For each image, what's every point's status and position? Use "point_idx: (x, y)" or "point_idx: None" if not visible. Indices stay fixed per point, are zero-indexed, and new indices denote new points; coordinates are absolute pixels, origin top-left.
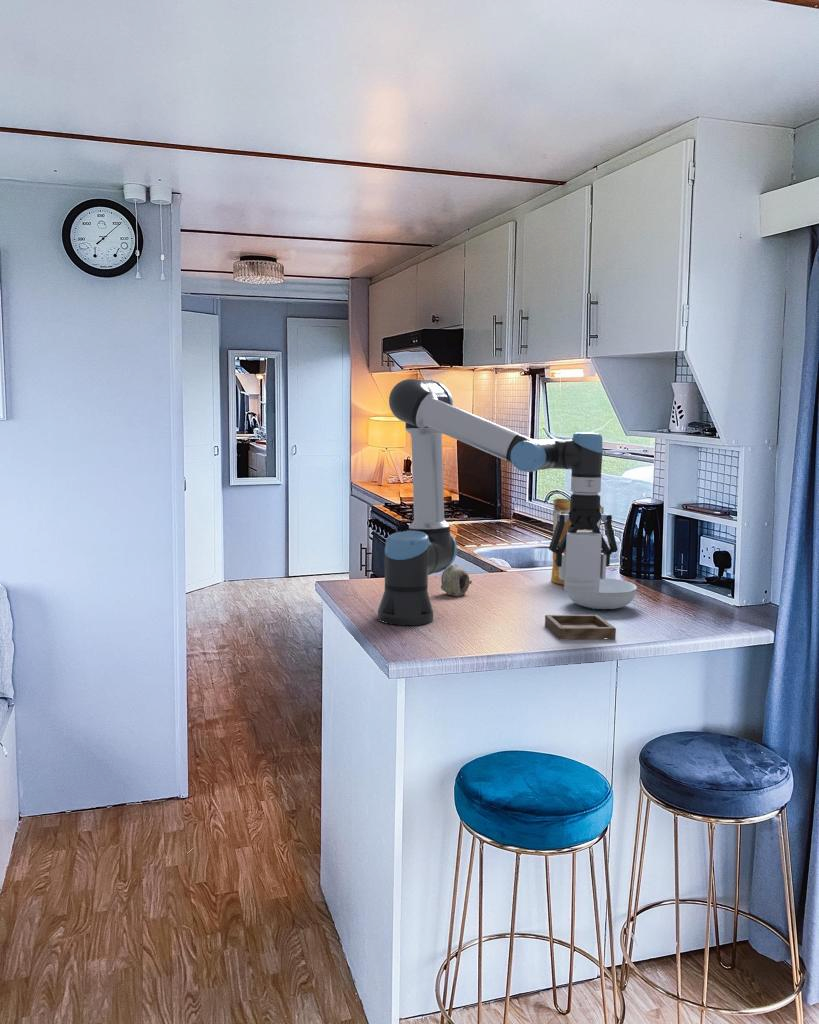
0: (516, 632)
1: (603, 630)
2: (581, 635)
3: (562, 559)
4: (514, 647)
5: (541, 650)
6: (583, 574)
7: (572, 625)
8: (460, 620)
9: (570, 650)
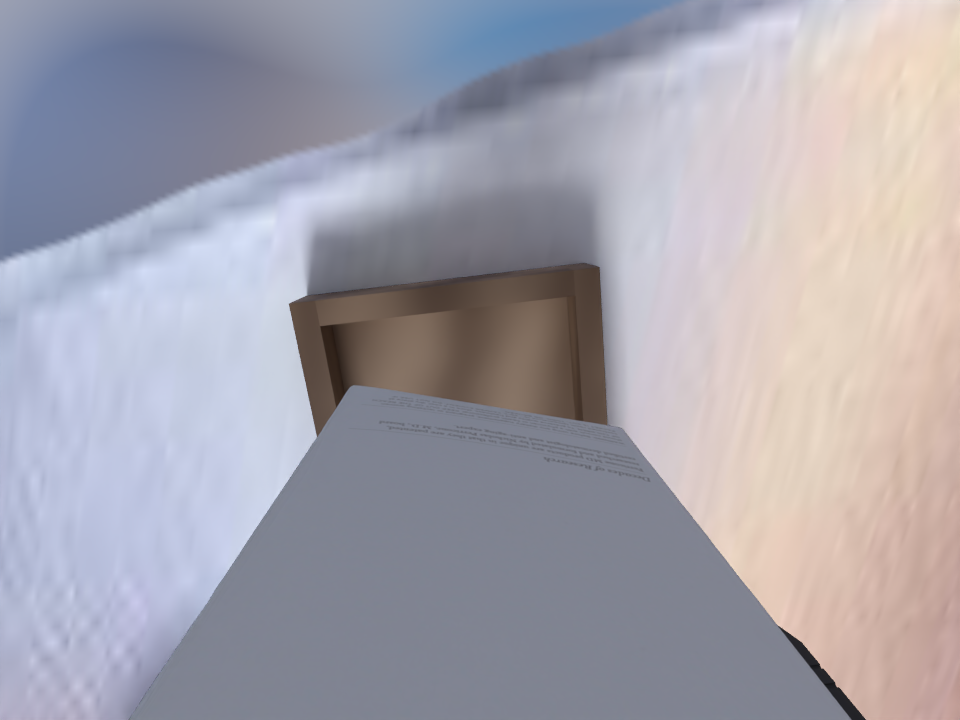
0: (759, 375)
1: (360, 294)
2: (479, 277)
3: None
4: (844, 95)
5: (724, 44)
6: (491, 470)
7: None
8: (949, 546)
9: (575, 55)
